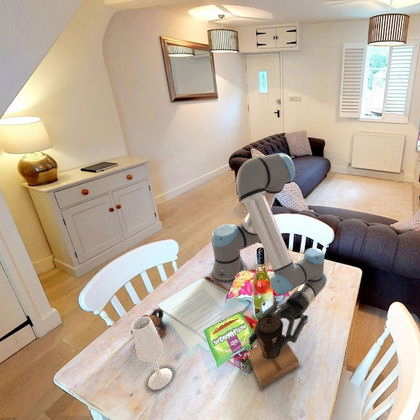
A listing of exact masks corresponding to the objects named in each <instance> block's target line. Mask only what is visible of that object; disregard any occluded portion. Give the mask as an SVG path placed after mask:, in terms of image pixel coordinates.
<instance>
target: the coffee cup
mask: <svg viewBox="0 0 420 420" xmlns="http://www.w3.org/2000/svg"><path fill="white" fill-rule="evenodd" d="M254 329H255V333H256V335H257V337H258V338H257V341H258V343H259V344H260V348H261V354H262V356H263V358H264V359H265V360H273V359H276V358H277V357H278V356H279V355H280V353H281V348H280V349H279V350H278V352H277V353H276V354H275V356H274V357H273V358H272V357H271V352H270V350H271V349H272V348H273V347H274V345H275V344H276V343H277V342H278V340H279V339H280V338H281V337H282V335H283V330H284V322H283V319H280V318H279V317H278V316H275V315H271V314H268V315H265V316H264V317H262V318H260V319H259V320H258V319H257V322H256V324H255V327H254Z"/></svg>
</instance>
